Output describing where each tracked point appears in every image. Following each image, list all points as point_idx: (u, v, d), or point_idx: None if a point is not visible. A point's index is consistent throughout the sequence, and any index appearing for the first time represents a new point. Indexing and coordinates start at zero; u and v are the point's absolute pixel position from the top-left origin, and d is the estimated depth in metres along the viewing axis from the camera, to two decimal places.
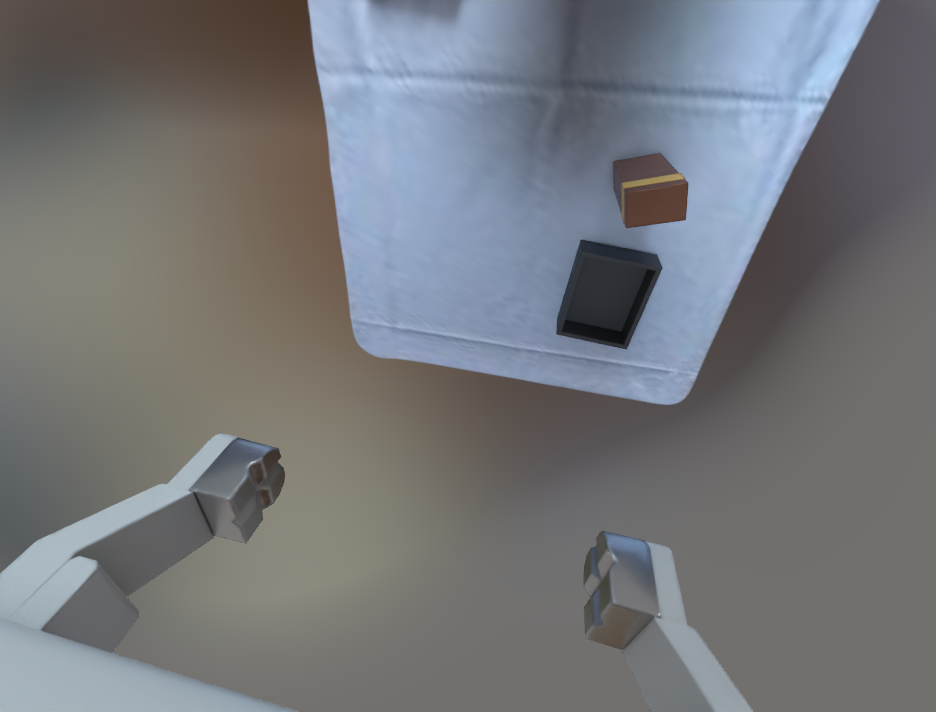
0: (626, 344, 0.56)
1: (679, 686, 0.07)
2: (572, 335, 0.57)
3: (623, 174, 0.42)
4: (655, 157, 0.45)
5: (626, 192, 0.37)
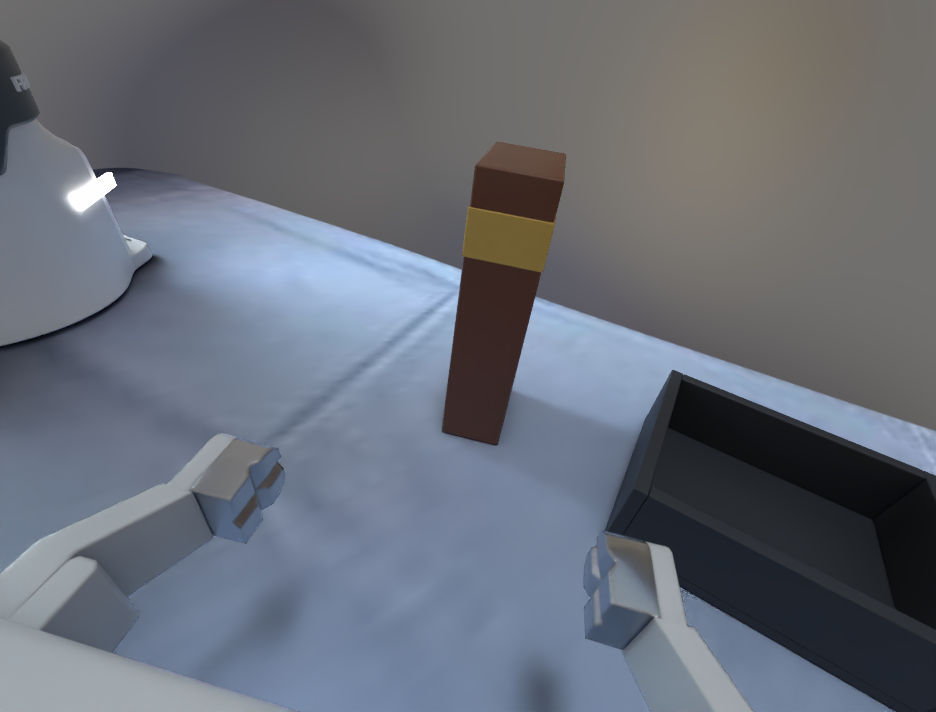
0: (920, 472, 0.19)
1: (679, 686, 0.07)
2: None
3: None
4: None
5: (475, 169, 0.15)
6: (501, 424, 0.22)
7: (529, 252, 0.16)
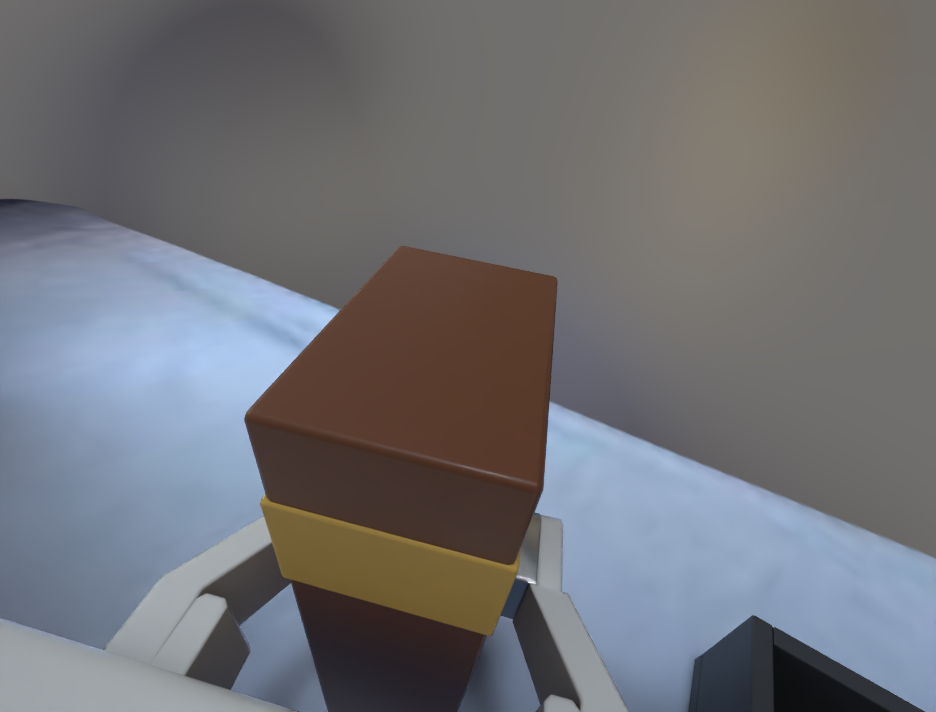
0: None
1: (546, 648, 0.08)
2: None
3: None
4: None
5: (251, 424, 0.04)
6: None
7: (451, 603, 0.06)
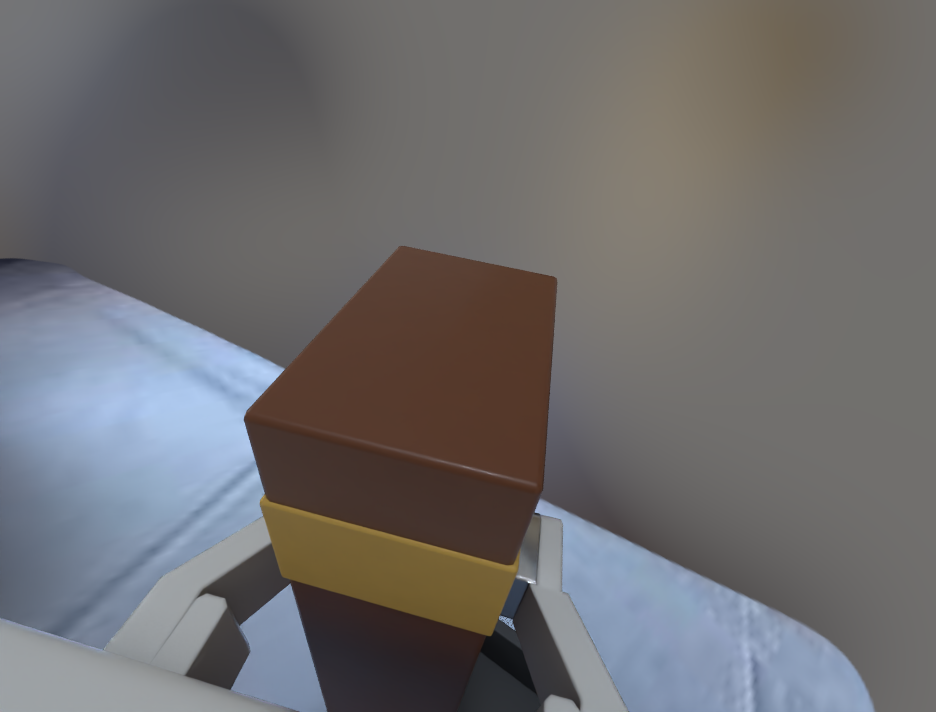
0: None
1: (547, 648, 0.08)
2: None
3: None
4: None
5: (250, 423, 0.04)
6: None
7: (451, 603, 0.06)
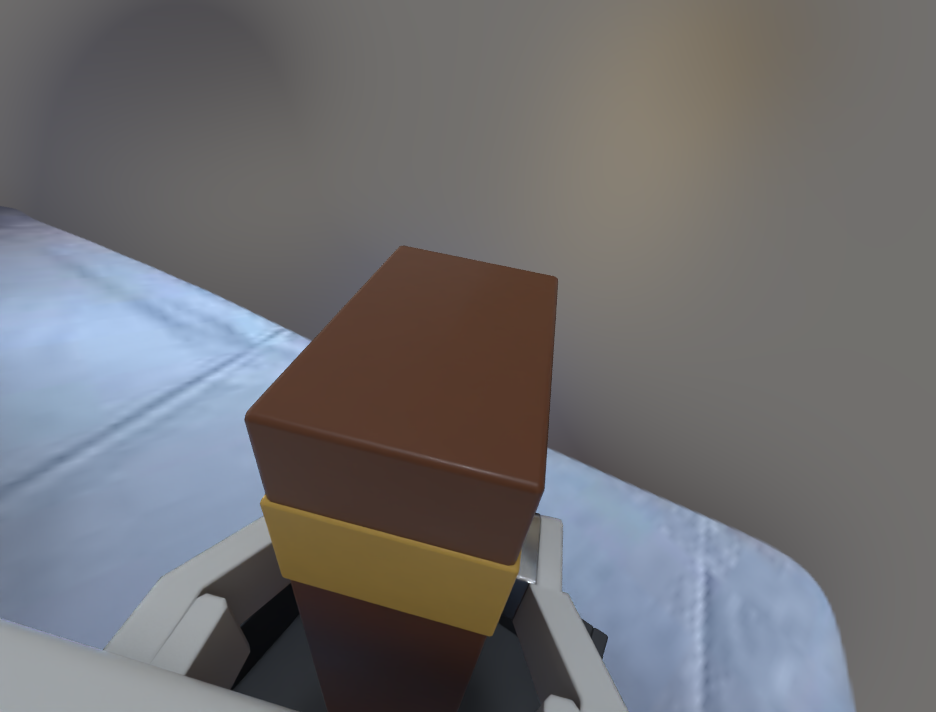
0: (587, 630, 0.16)
1: (546, 648, 0.08)
2: None
3: None
4: None
5: (250, 424, 0.04)
6: None
7: (451, 604, 0.06)
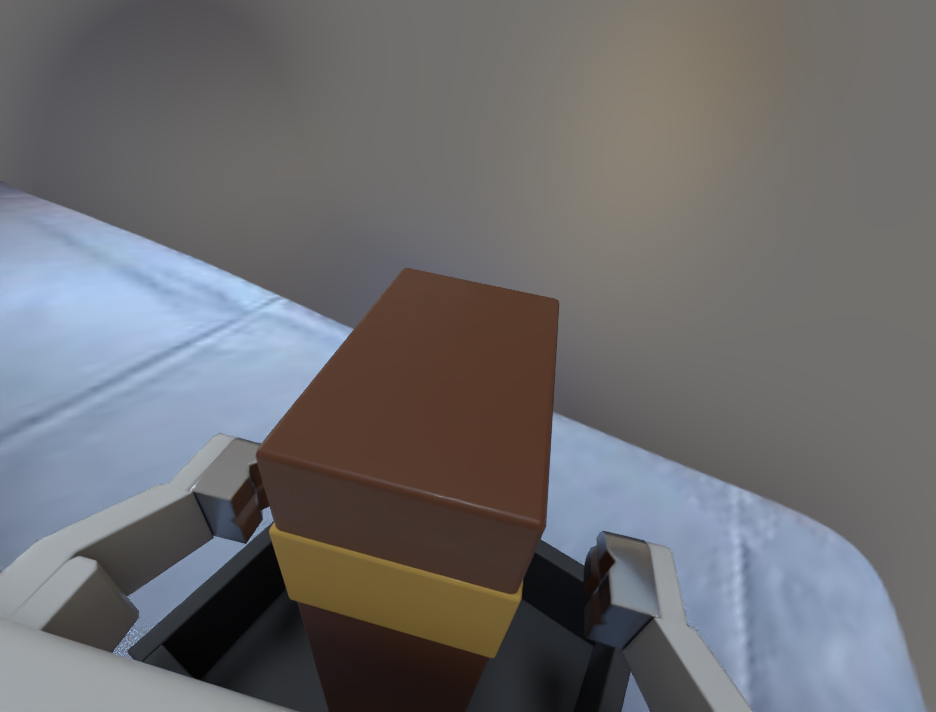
0: None
1: (679, 686, 0.07)
2: None
3: None
4: None
5: None
6: None
7: (455, 628, 0.06)
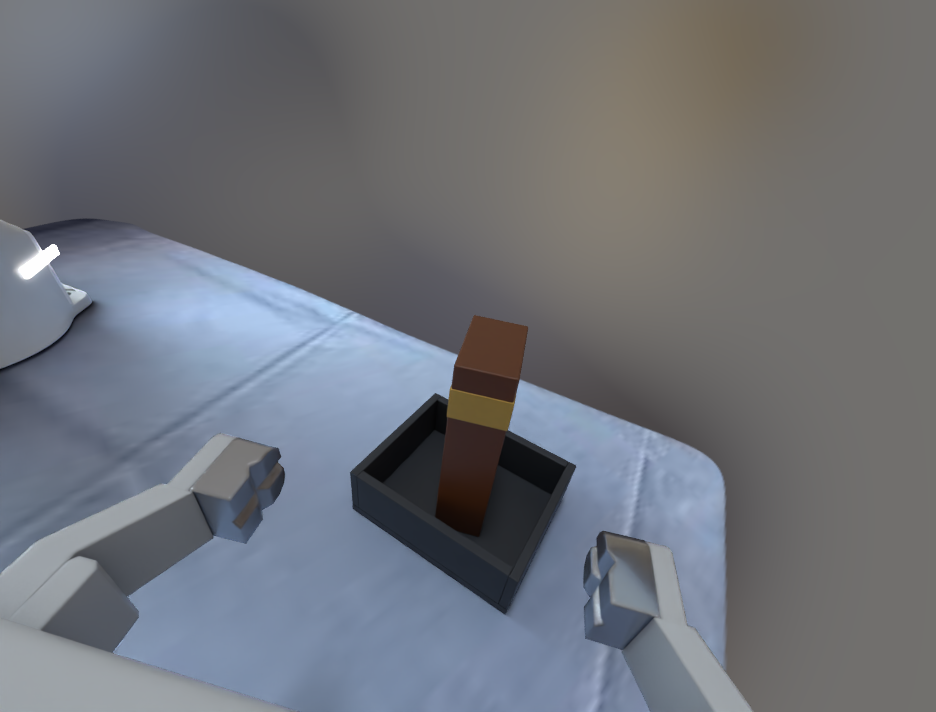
0: (565, 462, 0.29)
1: (679, 686, 0.07)
2: (528, 546, 0.24)
3: None
4: None
5: (454, 367, 0.20)
6: (481, 523, 0.27)
7: (496, 418, 0.21)
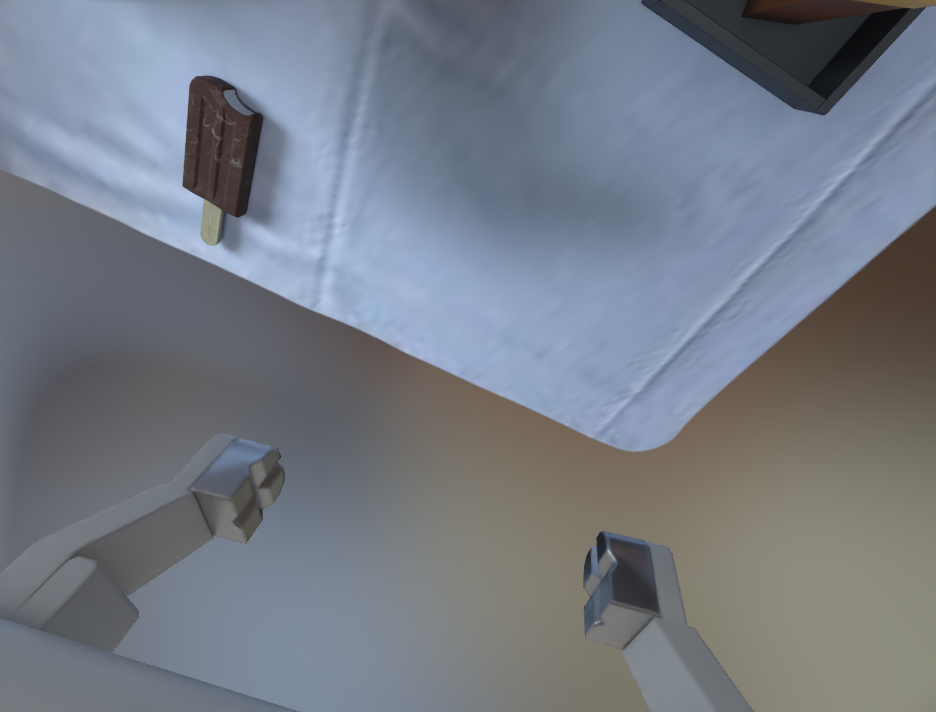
0: None
1: (679, 686, 0.07)
2: (857, 71, 0.22)
3: None
4: None
5: None
6: (808, 22, 0.23)
7: (907, 4, 0.16)
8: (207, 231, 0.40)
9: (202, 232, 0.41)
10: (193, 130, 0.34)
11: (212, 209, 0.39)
